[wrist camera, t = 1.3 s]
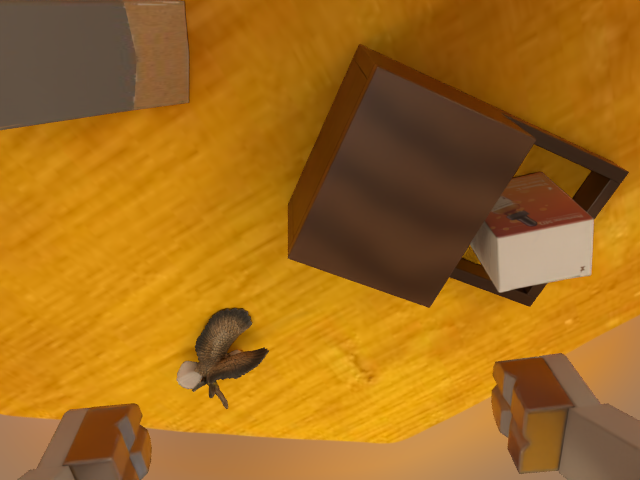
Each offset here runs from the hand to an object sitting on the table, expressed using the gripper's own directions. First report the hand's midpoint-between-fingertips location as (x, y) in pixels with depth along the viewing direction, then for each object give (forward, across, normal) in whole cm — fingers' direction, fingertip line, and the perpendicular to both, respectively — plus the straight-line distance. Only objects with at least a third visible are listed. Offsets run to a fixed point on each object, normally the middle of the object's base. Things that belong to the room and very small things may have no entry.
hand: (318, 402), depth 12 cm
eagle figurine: (+39, +11, +27) cm, 48 cm away
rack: (+38, -14, +11) cm, 42 cm away
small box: (+38, -19, +14) cm, 45 cm away
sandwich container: (+38, +16, -5) cm, 42 cm away
